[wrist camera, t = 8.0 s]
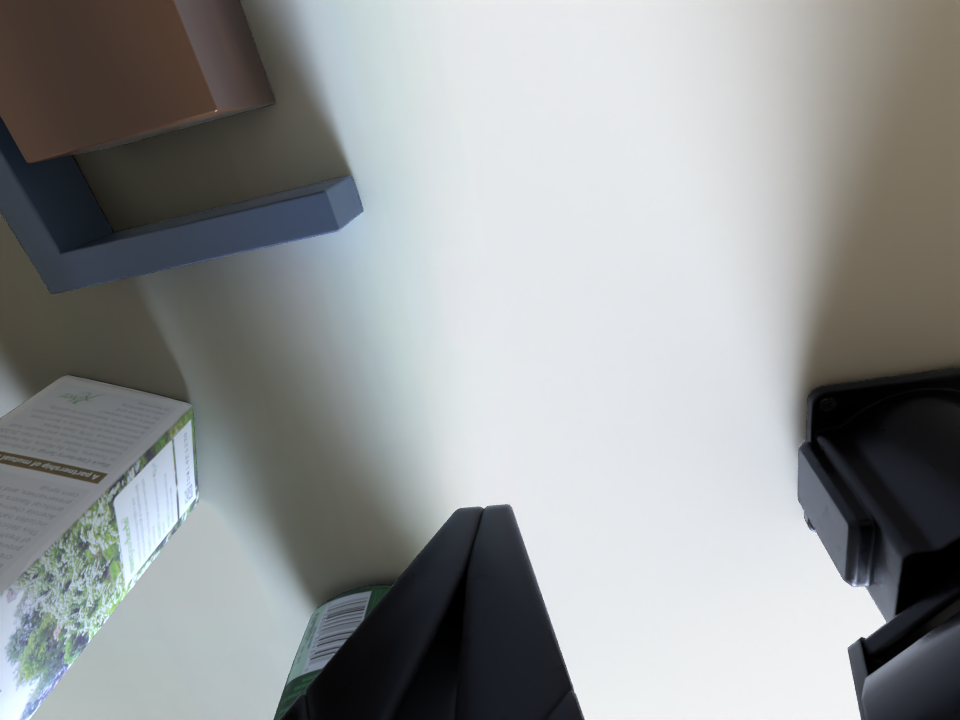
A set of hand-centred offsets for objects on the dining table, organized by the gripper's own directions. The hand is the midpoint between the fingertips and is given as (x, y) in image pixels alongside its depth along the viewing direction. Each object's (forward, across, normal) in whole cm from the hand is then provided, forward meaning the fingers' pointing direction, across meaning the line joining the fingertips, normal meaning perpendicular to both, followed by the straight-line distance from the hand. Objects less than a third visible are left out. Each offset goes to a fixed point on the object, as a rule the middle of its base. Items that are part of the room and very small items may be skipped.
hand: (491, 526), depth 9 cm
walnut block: (+12, +10, -10) cm, 18 cm away
